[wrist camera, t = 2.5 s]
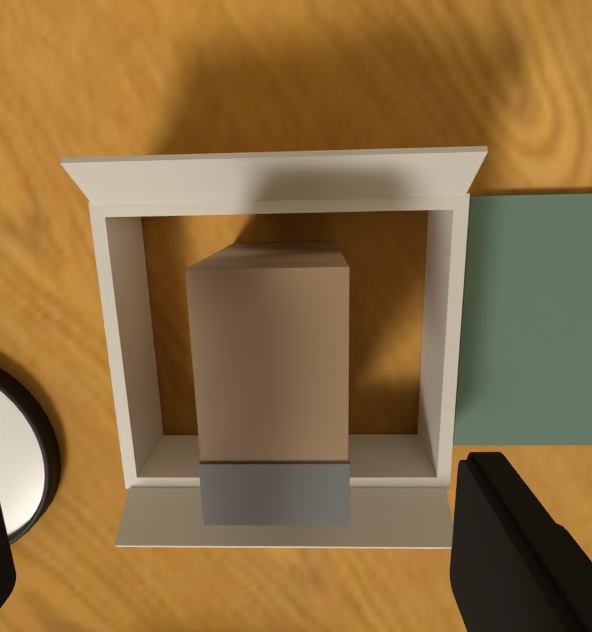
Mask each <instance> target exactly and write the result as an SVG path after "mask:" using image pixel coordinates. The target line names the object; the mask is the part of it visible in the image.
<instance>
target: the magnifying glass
mask: <svg viewBox="0 0 592 632" xmlns="http://www.w3.org/2000/svg"><path fill="white" fill-rule="evenodd" d="M60 470H61V463H60V452H59V447H58V442H57V439H56V436H55V433H54V430H53V427H52V425H51V423H50V421H49V419H48V417H47V415H46V414H45V412H44V411H43V409H42V408H41V406H40V405H39V403H38V402H37V401H36V400H35V398H34V397H33V396H32V395H31V393H30V392H29V391H28V390H27V389H26V388H25V387H24V386H23V385H21V384H20V383H19V382H18V381H17V380H16V379H14V378H13V377H12V376H11V375H9V374H8V373H7V372H5V371H4V370H2V369H0V504H1V508H2V513H3V517H4V522H5V526H6V531H7V535H8V540H9V544H12V543H14V542H15V541H17V540H18V539H19V538H21V537H22V536H23V535H24V534H26V533H27V532H28V531H29V530H30V529H31V528H32V526H33V525H34V524H35V523H36V522H37V521H38V520H39V519H40V517H41V516H42V515H43V514H44V513H45V512H46V510H47V508H48V507H49V505H50V504H51V502H52V500H53V498H54V496H55V493H56V491H57V487H58V483H59V480H60Z"/></svg>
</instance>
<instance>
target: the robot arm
mask: <svg viewBox="0 0 592 632" xmlns="http://www.w3.org/2000/svg"><path fill="white" fill-rule="evenodd" d="M450 581H451V587H452V591H453V594H454V597H455V600H456V602H457V605H458V608H459V610H460V613H461V616H462V618H463V621H464V624H465V626H466V629H467V632H592V562H591V560H590V559H589V558H588V557H587V555H586V554H585V553H584V551H583V550H582V549H581V548H580V546H579V545H578V544H577V542H576V541H575V540H574V539H573V537H572V536H571V535H570V534H569V532H568V531H567V530H566V529H565V528H564V527H563V526H561V525H559V524H556V523H555V521H554V520H553V519H552V518H551V516H550V515H549V514H548V512H547V511H546V510H545V508H544V507H543V506H542V504H541V503H540V502H539V501H538V499H537V498H536V497H535V495H534V494H533V493H532V491H531V490H530V489H529V487H528V486H527V485H526V484H525V482H524V481H523V480H522V478H521V477H520V476H519V474H518V473H517V472H516V470H515V469H514V468H513V467H512V465H511V464H510V463H509V461H508V460H507V459H506V457H505V456H504V455H503V454H502V453H501V452H471V453H469V455H468V457H467V460H460V462H459V464H458V474H457V487H456V499H455V512H454V525H453V537H452V550H451V562H450ZM15 582H16V571H15V566H14V562H13V557H12V553H11V549H10V544H9V540H8V535H7V531H6V526H5V522H4V517H3V513H2V508H1V504H0V608H1V607H2V605H3V604H4V603H5V601H6V600H7V599H8V597H9V596H10V594H11V593H12V591H13V588H14V585H15Z"/></svg>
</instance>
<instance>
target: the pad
mask: <svg viewBox="0 0 592 632" xmlns="http://www.w3.org/2000/svg"><path fill="white" fill-rule="evenodd" d="M453 445H592V194H549V195H506V196H470V200H469V214H468V229H467V243H466V258H465V272H464V287H463V301H462V316H461V330H460V345H459V359H458V374H457V388H456V403H455V417H454V432H453Z"/></svg>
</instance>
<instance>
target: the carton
mask: <svg viewBox="0 0 592 632" xmlns="http://www.w3.org/2000/svg"><path fill="white" fill-rule="evenodd" d="M487 152H488V149H487V146H466V147H430V148H393V149H356V150H320V151H283V152H246V153H210V154H173V155H136V156H100V157H63V158H61V161H60V164H61V165H62V166H63V167H64V169H65V170H66V171H67V173H68V174H69V175H70V176H71V178H72V179H73V180H74V181H75V183H76V184H77V185H78V187H79V188H80V189H81V190H82V192H83V193H84V194H85V195H86V197H87V198H88V199H89V201H90V202H88V204H89V211H90V219H91V227H92V234H93V242H94V250H95V257H96V265H97V273H98V280H99V288H100V296H101V303H102V311H103V319H104V326H105V334H106V342H107V349H108V357H109V365H110V372H111V380H112V388H113V395H114V403H115V411H116V418H117V426H118V434H119V441H120V449H121V457H122V464H123V472H124V480H125V487H126V489H129V490H128V494H127V498H126V502H125V506H124V510H123V514H122V518H121V522H120V526H119V530H118V534H117V538H116V542H115V546H116V547H231V548H412V549H452V537H453V522H452V517H451V512H450V507H449V502H448V497H447V492H446V489H450V475H451V461H452V446H453V432H454V417H455V403H456V388H457V374H458V359H459V345H460V330H461V316H462V301H463V287H464V272H465V258H466V243H467V229H468V214H469V200H470V193H467V191H468V189H469V188H470V186H471V184H472V182H473V180H474V178H475V176H476V174H477V172H478V170H479V168H480V166H481V164H482V162H483V160H484V158H485V156H486V154H487ZM466 193H467V194H466ZM409 210H428V222H427V243H426V264H425V285H424V306H423V327H422V348H421V369H420V390H419V411H418V432H417V434H350V435H348V455H349V461H350V517H349V526H285V525H204V524H203V512H202V500H201V488H200V476H199V465H198V464H199V462H200V449H199V437H198V435H164V434H163V424H162V415H161V405H160V395H159V386H158V376H157V366H156V357H155V347H154V338H153V328H152V318H151V309H150V299H149V289H148V280H147V270H146V260H145V251H144V241H143V231H142V222H141V216H184V215H229V214H274V213H319V212H364V211H409Z"/></svg>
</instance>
